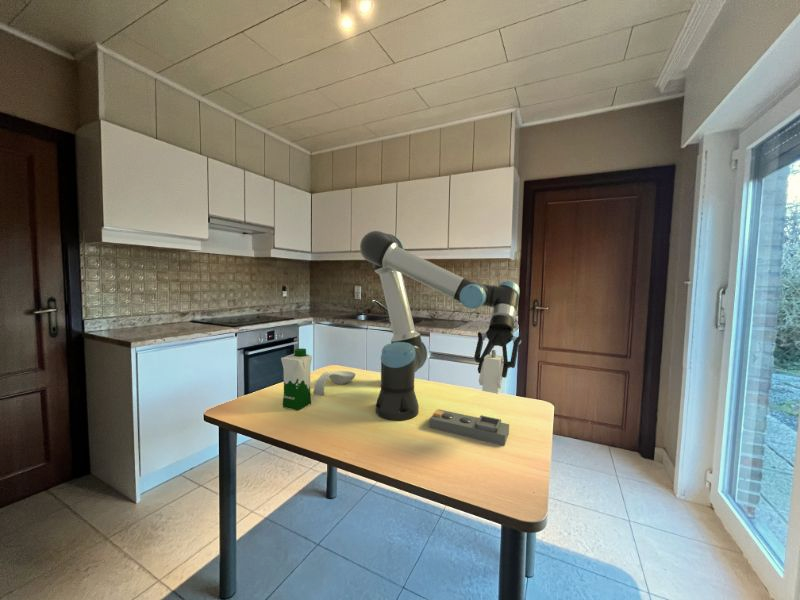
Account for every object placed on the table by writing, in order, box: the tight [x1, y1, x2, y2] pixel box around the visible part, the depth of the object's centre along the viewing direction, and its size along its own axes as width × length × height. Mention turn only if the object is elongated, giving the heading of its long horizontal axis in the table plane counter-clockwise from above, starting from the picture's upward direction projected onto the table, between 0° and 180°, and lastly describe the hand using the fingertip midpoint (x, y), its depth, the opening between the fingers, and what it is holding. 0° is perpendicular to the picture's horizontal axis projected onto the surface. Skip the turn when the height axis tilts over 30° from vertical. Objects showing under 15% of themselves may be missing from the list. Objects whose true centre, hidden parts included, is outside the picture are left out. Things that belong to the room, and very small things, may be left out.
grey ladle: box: [312, 370, 356, 396], centre depth 142 cm, size 24×12×7 cm, turn 159°
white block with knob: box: [481, 349, 503, 395], centre depth 99 cm, size 4×5×12 cm
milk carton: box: [280, 348, 313, 411], centre depth 120 cm, size 9×9×20 cm
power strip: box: [429, 409, 510, 446], centre depth 104 cm, size 23×8×4 cm, turn 64°
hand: (489, 384), depth 96 cm, fingers closed on white block with knob, 4 cm apart
